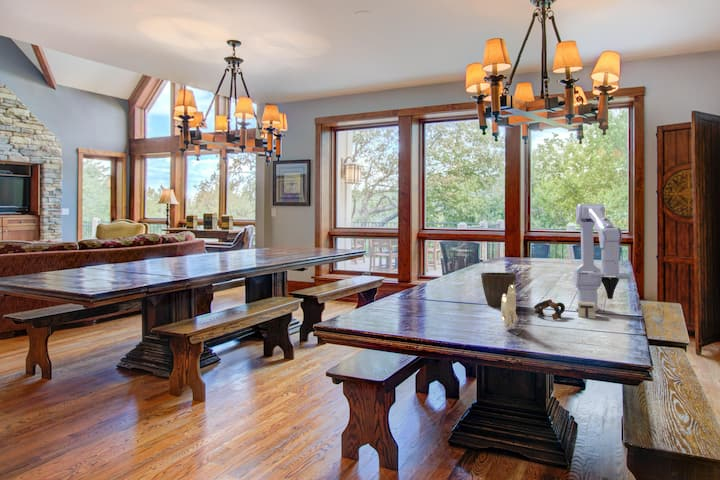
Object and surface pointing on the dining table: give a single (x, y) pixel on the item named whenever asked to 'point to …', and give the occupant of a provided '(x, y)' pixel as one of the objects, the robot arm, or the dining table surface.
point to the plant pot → (496, 286)
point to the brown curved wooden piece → (552, 305)
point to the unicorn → (509, 307)
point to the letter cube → (586, 309)
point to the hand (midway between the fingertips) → (610, 298)
